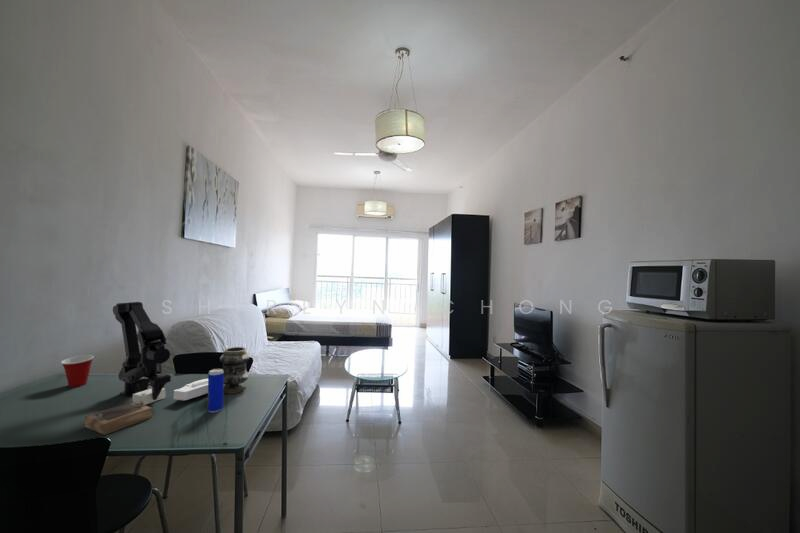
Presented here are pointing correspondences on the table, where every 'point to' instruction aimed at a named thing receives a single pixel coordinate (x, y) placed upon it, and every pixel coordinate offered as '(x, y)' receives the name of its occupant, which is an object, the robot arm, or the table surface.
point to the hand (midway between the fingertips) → (148, 398)
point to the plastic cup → (77, 369)
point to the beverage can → (215, 390)
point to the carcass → (118, 417)
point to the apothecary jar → (234, 369)
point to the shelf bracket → (192, 390)
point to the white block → (147, 396)
